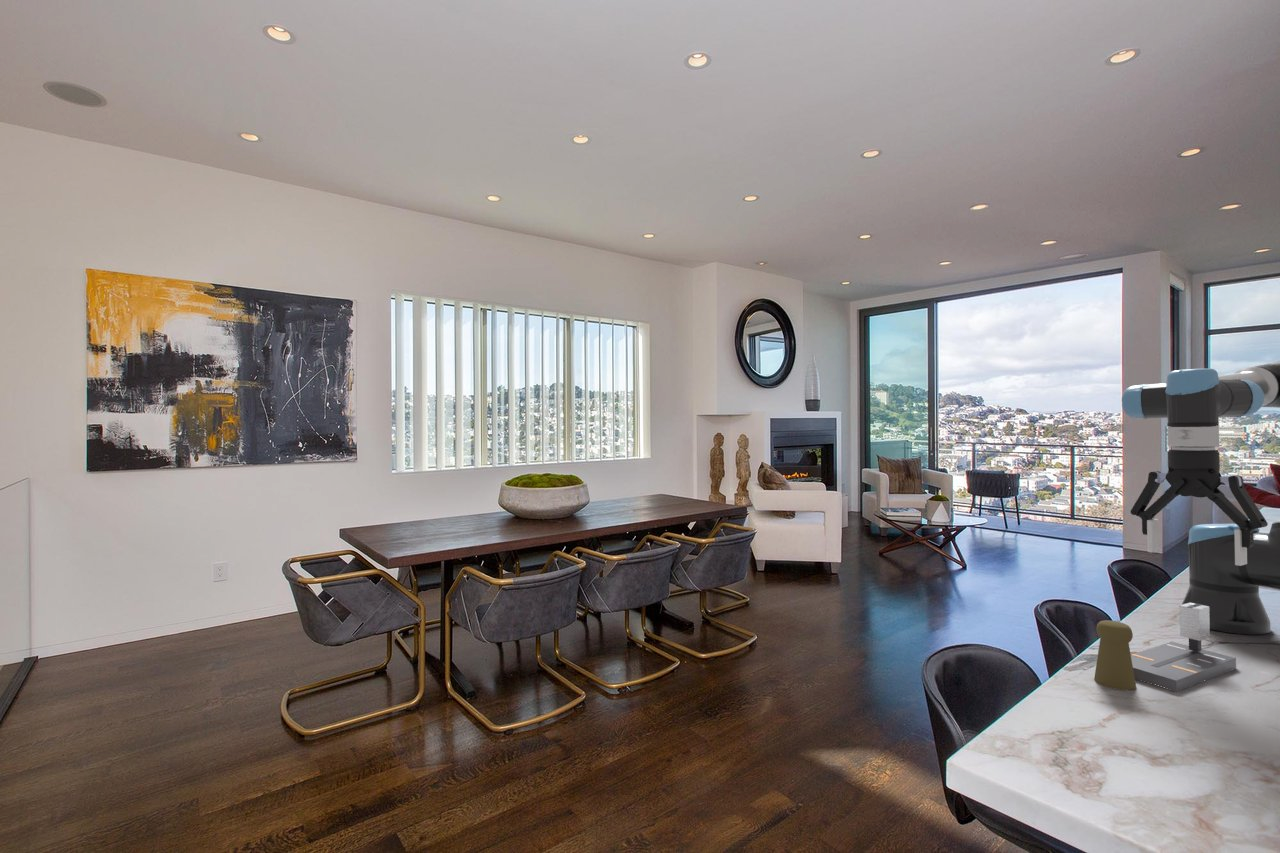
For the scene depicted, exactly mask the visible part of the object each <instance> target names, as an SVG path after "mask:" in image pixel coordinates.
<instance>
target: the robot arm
mask: <svg viewBox="0 0 1280 853" xmlns="http://www.w3.org/2000/svg"><path fill="white" fill-rule="evenodd" d="M1121 406H1122V407H1121V408H1122V410H1123V412H1124V413H1125V414H1126V415H1127V416H1128V417H1130V418H1134V419H1144V420H1146V419H1167V424H1166V427H1167V428H1166V430H1167V431H1166V432H1167V433H1166V435H1167V446H1168V447H1170V448H1171V449H1168V451H1167V467H1168V470H1167V473H1164V472H1161V471H1159V470H1158V471H1157V470H1156V471H1150V472H1148V475H1147V483H1146V484H1145V486H1144V487H1143V489H1142V491H1141V493H1140V494H1139V495H1138V498H1137V499H1136V501H1135V502H1134V505H1133V506H1132V508H1131V510H1130V514H1131V515H1132V516H1137V517H1139V518H1141V530H1142V531H1141V532H1142V535H1145V536H1146V537H1147V541H1146V543H1147V552H1148V553H1151V554H1152V553H1157V552H1159V551H1160V547H1159V546H1160V540H1159V539H1160V538H1159V536H1160V535H1159V533H1160V532H1159V519H1158V518H1155V516H1157V514H1159V513H1160V512H1161V511H1162V510H1164V508H1165V507H1166V506H1167V505H1169V504H1170V503H1171V502H1172V501H1173V500H1175V498H1176V497H1178V496H1179V495H1180V496H1181V497H1194V498H1200V499H1202V498H1208V499H1209V500H1210V501H1212V502H1213V503H1214V504H1215V505H1216V506H1217V507H1218V508H1219V509H1220V510H1221V511H1222V512H1223V513H1224V514H1226V516H1227V517H1228V518H1229V519H1230V520H1231V521H1232V522H1233V523H1204V524H1196V525H1193V526H1192V527H1191V528H1189V533H1188V542H1187V545H1188V573H1189V574H1188V576H1189V582H1188V589H1187V591H1186V593H1185V596H1184V598H1183V600H1182V602H1181V605H1183V604H1187V603H1195V604H1201V605H1205V606H1209V617H1210V630H1212V631H1218V632H1223V633H1229V634H1239V635H1252V636H1253V635H1266V634H1269V633H1271V630H1272V629H1271V619H1270V617H1269V616H1268V613H1267V611H1266V608H1265V606H1264V603H1263V602H1262V599H1261V597H1260V587H1264V588H1269V589H1274V590H1277V591H1280V519H1278V520H1276V521H1273V522H1272V524H1271V527H1270V529H1269V532H1268V533H1266V532H1260V528H1266V527H1267V526H1268V523H1269V522H1268V521H1267V520H1266V518H1265V517H1264V515H1263V514H1262V512H1261V510H1260V509H1259V507H1258V506H1257V505H1256V503H1255V501H1254V500H1253V498H1252V497H1251V496H1250V494H1249V492H1248V491H1247V489H1246V488H1245V484H1244V478H1243V476H1241V475H1240V474H1237V475H1230V476H1222V475H1221V472H1220V469H1221V466H1220V464H1221V459H1220V454H1221V453H1220V451H1219V450H1217V449H1216V448H1219V446H1220V427H1219V425H1220V424H1219V421H1220V420H1219V419H1220V418H1242V417H1248V416H1252V415H1253V414H1255V413H1256V412H1258V411H1259V410H1260V409H1261V408H1278V409H1280V360H1278V361H1273V362H1269V363H1263V364H1261V365H1260V364H1259V365H1255V366H1250V367H1244V368H1241V369H1238V370H1237V371H1235V372H1234V373H1228V374H1222V375H1219V373H1218V372H1217V370H1216V369H1215V368H1191V369H1190V368H1189V369H1178V370H1177V369H1176V370H1172V371H1170V372H1169V373H1168V374H1167V375H1166V382H1160V383H1159V382H1158V383H1150V384H1149V383H1143V384H1142V383H1141V384H1138V385H1137V384H1136V385H1135V384H1134V385H1131V386H1129V387H1127V388H1126V389H1125V390H1124V392H1123V394H1122V397H1121ZM1165 481H1167V482H1168V483H1169V485H1170V487H1169V488H1167V489H1166V490H1165V491H1164V492H1163V494H1162V495H1161V496H1160V497H1159V498H1157V500H1155V501H1154V502H1153V503H1152V504H1151V505H1150V506H1149V507H1148V505H1149V504H1150V502H1151V500H1152V499H1153V497H1154V496H1155V493H1156V492H1157V491H1158V489H1159V487H1160V485H1161V483H1164V482H1165ZM1222 484H1224V485H1225V486H1226V487H1227V488H1229V489H1230V492H1231V493H1232V495H1233V497H1234V498H1235V499H1236V501H1237V503H1238V504H1239V506H1240V508H1241V509H1242V510H1243V512H1244V513H1242V511H1240V510H1239V509H1238V507H1236V506H1235V504H1233V503H1232V502H1231V501H1230V500H1229V499H1228V498H1227V497H1226V495H1225V494H1224V493H1223V492H1222V491H1221V490H1220V489H1219V487H1220V486H1221V485H1222ZM1244 514H1245V515H1244ZM1246 516H1247V517H1246Z"/></svg>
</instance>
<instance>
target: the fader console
mask: <svg viewBox="0 0 1280 853" xmlns="http://www.w3.org/2000/svg"><path fill="white" fill-rule="evenodd" d="M1130 654H1131V660H1132V665H1133V671H1134V677H1135V680H1137V679H1138V680H1137V681H1140V680H1142V681H1141V682H1143V681H1145V682H1144V683H1146V682H1149V683H1152V684H1156V685H1159V686H1162V687H1165V688H1168V689H1171V690H1170V691H1172V690H1173V691H1172V692H1175V691H1176V692H1175V693H1177V691H1178V692H1180V691H1183V690H1185V689H1188V688H1190V687H1193V686H1195V685H1198V684H1200V683H1199V682H1201V683H1203V682H1205V681H1204V680H1206V681H1207V679H1208V680H1211V679H1214V678H1215V676H1216V677H1218V676H1220V675H1223V674H1225V673H1228V672H1230V671H1233V670H1236V669H1237V658H1236V657H1233V656H1231V655H1227V654H1222V653H1219V652H1216V651H1215V652H1214V651H1211V650H1206V649H1204V648H1203V649H1202V648H1201V651H1199V652H1197V651H1193V650H1189V644H1188V645H1187V644H1183V643H1179V642H1175V641H1169V642H1166V643H1163V644H1159V645H1157V646H1153V647H1151V648H1147V649H1145V650H1144V649H1143V650H1142V651H1138V652H1135V653H1130ZM1210 678H1211V679H1210ZM1202 681H1203V682H1202ZM1149 683H1148V684H1149ZM1197 683H1198V684H1197ZM1152 684H1151V685H1152ZM1156 685H1155V686H1156ZM1192 685H1193V686H1192ZM1159 686H1158V687H1159ZM1162 687H1161V688H1162ZM1187 687H1188V688H1187ZM1165 688H1164V689H1165ZM1168 689H1167V690H1168ZM1182 689H1183V690H1182Z"/></svg>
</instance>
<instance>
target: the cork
mask: <svg viewBox="0 0 1280 853" xmlns="http://www.w3.org/2000/svg"><path fill="white" fill-rule="evenodd" d="M1095 628H1096V633H1097V636H1098V638H1099V644H1098V651H1097V658H1096V663H1095V664H1096V665H1095V670H1094V678H1093V680H1094V681H1095V683H1097V684H1099V685H1101V686H1103V687H1107V688H1110V689H1113V690H1114V689H1115V690H1120V691H1132V690H1135V689H1137V685H1136V684H1137V683H1136V679H1135V677H1134V671H1133V665H1132V660H1131V654H1132V653H1131V650H1130V642H1132V640H1133V634H1134V633H1133V630H1132V628H1131V626H1130V625H1128V624H1126V623H1124V622H1120V621H1116V620H1108V619H1106V620H1100V621H1099V622H1098V623H1097V625H1096V627H1095Z"/></svg>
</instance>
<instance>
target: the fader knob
mask: <svg viewBox="0 0 1280 853" xmlns="http://www.w3.org/2000/svg"><path fill="white" fill-rule="evenodd" d="M1210 631H1211V629H1210V617H1209V606H1205V605H1201V604H1195V603H1187V604H1183V605H1182V604H1180V605H1179V637H1182V638H1186V639H1188V646H1189V650H1193V651H1197V652H1199V651H1201V649H1202V641H1203V640H1206V639H1209V638H1210V637H1211V636H1210V635H1211V634H1210V633H1211V632H1210Z"/></svg>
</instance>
